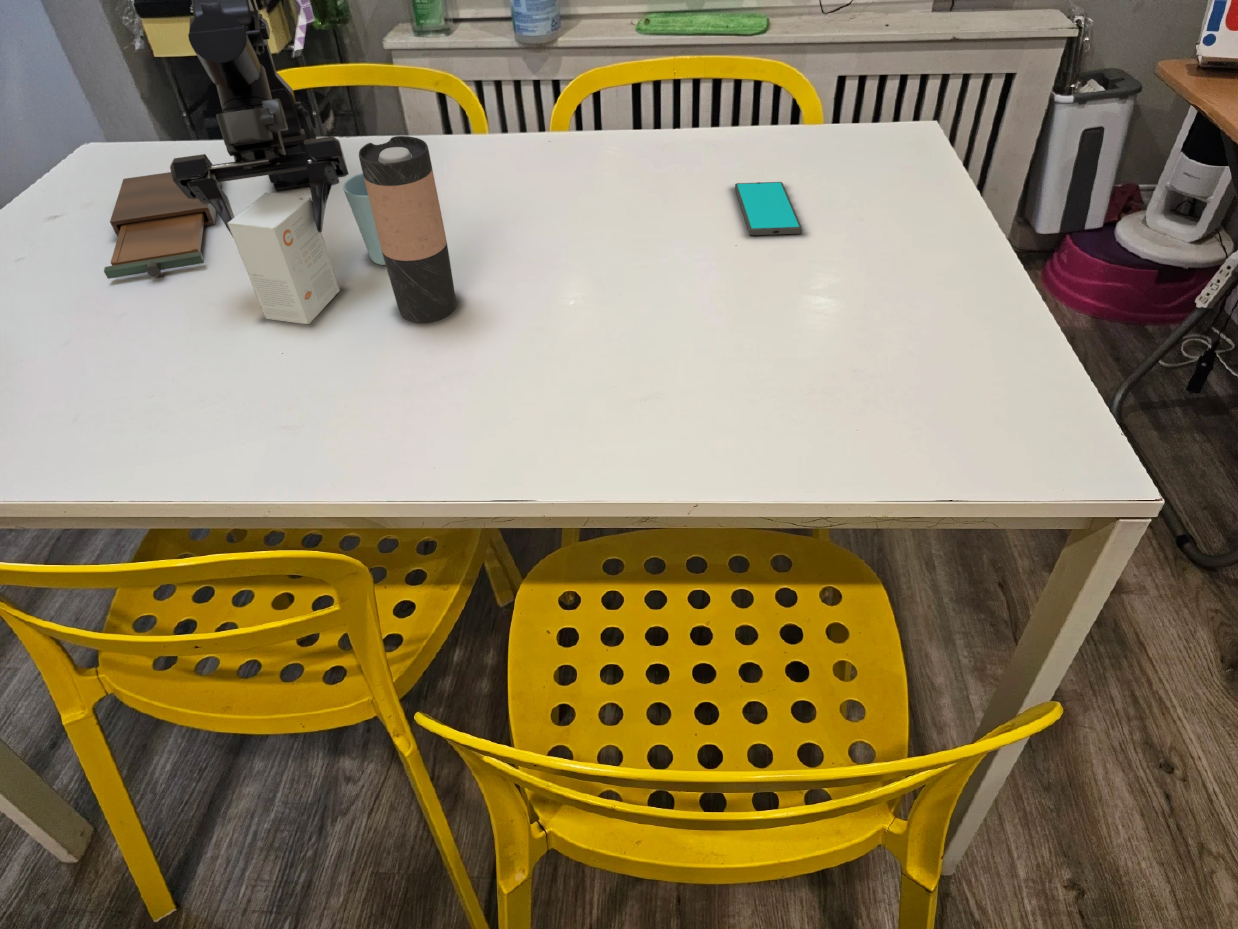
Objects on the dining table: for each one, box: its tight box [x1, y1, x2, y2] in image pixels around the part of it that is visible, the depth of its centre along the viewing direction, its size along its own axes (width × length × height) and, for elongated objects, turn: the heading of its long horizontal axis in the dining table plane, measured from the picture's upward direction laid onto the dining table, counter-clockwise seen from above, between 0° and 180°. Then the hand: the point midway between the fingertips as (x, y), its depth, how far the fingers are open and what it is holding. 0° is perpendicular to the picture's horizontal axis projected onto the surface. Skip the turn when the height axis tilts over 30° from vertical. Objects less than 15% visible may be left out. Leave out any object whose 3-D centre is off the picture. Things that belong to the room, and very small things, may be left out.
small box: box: [228, 192, 341, 325], centre depth 96 cm, size 8×6×13 cm
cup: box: [342, 172, 386, 266], centre depth 106 cm, size 8×8×10 cm
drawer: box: [103, 212, 205, 280], centre depth 110 cm, size 16×12×2 cm
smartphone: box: [734, 181, 803, 236], centre depth 116 cm, size 7×1×15 cm
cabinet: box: [109, 171, 217, 238], centre depth 120 cm, size 15×13×3 cm
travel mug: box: [358, 135, 457, 324], centre depth 93 cm, size 8×8×20 cm
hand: (279, 237), depth 93 cm, fingers open, 9 cm apart
